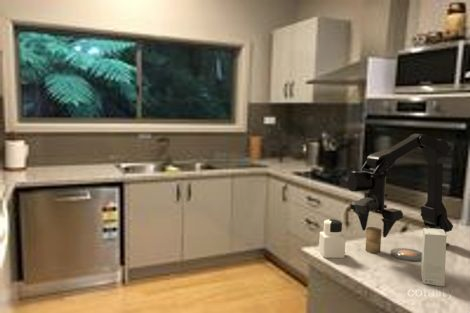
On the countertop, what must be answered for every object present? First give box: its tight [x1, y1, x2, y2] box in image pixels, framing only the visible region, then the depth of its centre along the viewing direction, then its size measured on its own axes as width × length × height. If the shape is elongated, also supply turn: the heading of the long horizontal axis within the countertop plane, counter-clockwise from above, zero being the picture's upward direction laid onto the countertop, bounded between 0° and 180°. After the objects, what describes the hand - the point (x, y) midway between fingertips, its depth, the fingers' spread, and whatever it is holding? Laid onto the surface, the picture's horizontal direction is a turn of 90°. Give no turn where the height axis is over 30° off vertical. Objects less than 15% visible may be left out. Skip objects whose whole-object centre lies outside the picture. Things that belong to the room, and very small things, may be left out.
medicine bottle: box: [318, 218, 346, 259], centre depth 139 cm, size 7×7×12 cm
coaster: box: [390, 247, 422, 262], centre depth 140 cm, size 11×11×1 cm
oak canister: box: [364, 226, 383, 254], centre depth 144 cm, size 5×5×8 cm
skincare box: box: [420, 227, 448, 288], centre depth 119 cm, size 8×6×15 cm
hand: (374, 233), depth 144 cm, fingers open, 9 cm apart
